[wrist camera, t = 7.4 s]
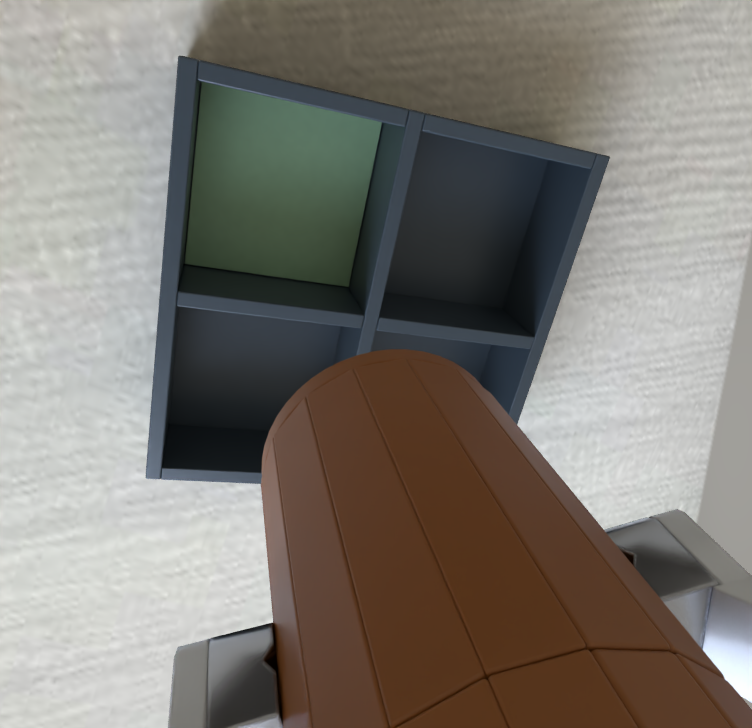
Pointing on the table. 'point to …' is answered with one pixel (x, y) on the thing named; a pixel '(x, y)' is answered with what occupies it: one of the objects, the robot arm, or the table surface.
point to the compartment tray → (343, 254)
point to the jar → (455, 571)
